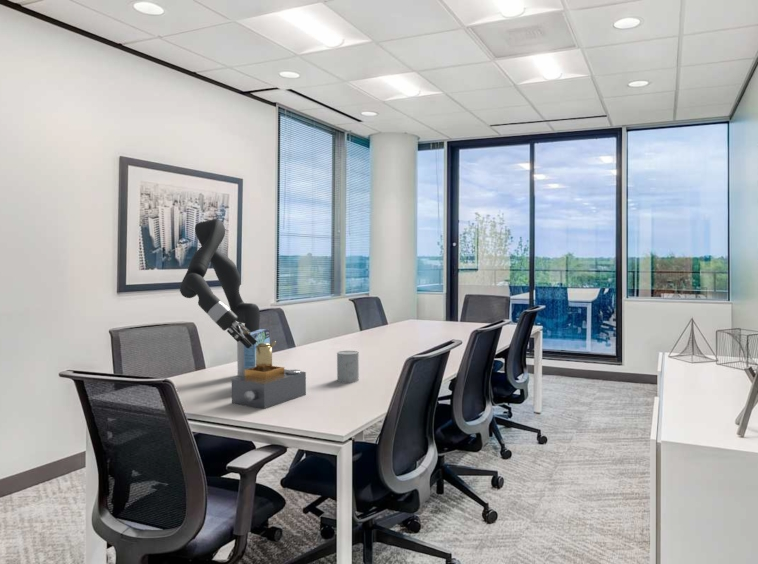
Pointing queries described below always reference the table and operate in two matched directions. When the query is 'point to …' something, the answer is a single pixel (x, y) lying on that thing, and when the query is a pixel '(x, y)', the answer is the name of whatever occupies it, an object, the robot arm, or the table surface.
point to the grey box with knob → (268, 387)
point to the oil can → (264, 356)
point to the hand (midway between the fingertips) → (252, 345)
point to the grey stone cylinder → (347, 366)
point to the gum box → (250, 353)
